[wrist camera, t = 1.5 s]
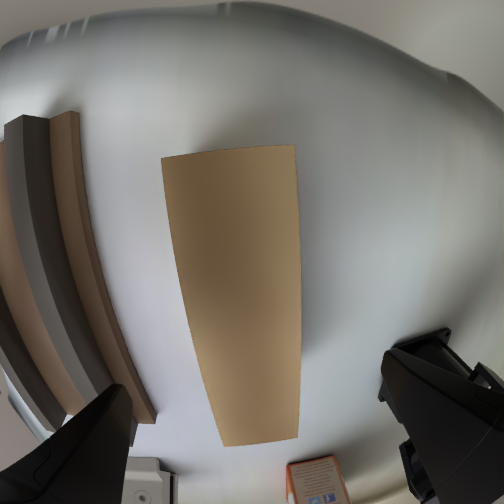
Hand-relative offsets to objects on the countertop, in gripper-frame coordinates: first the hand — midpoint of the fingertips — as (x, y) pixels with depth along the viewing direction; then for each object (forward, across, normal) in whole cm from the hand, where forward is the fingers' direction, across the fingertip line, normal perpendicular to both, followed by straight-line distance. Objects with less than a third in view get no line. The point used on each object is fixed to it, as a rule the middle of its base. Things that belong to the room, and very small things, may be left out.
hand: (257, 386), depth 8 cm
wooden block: (+8, 0, 0) cm, 8 cm away
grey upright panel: (+8, +18, +24) cm, 31 cm away
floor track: (+8, +14, 0) cm, 16 cm away
